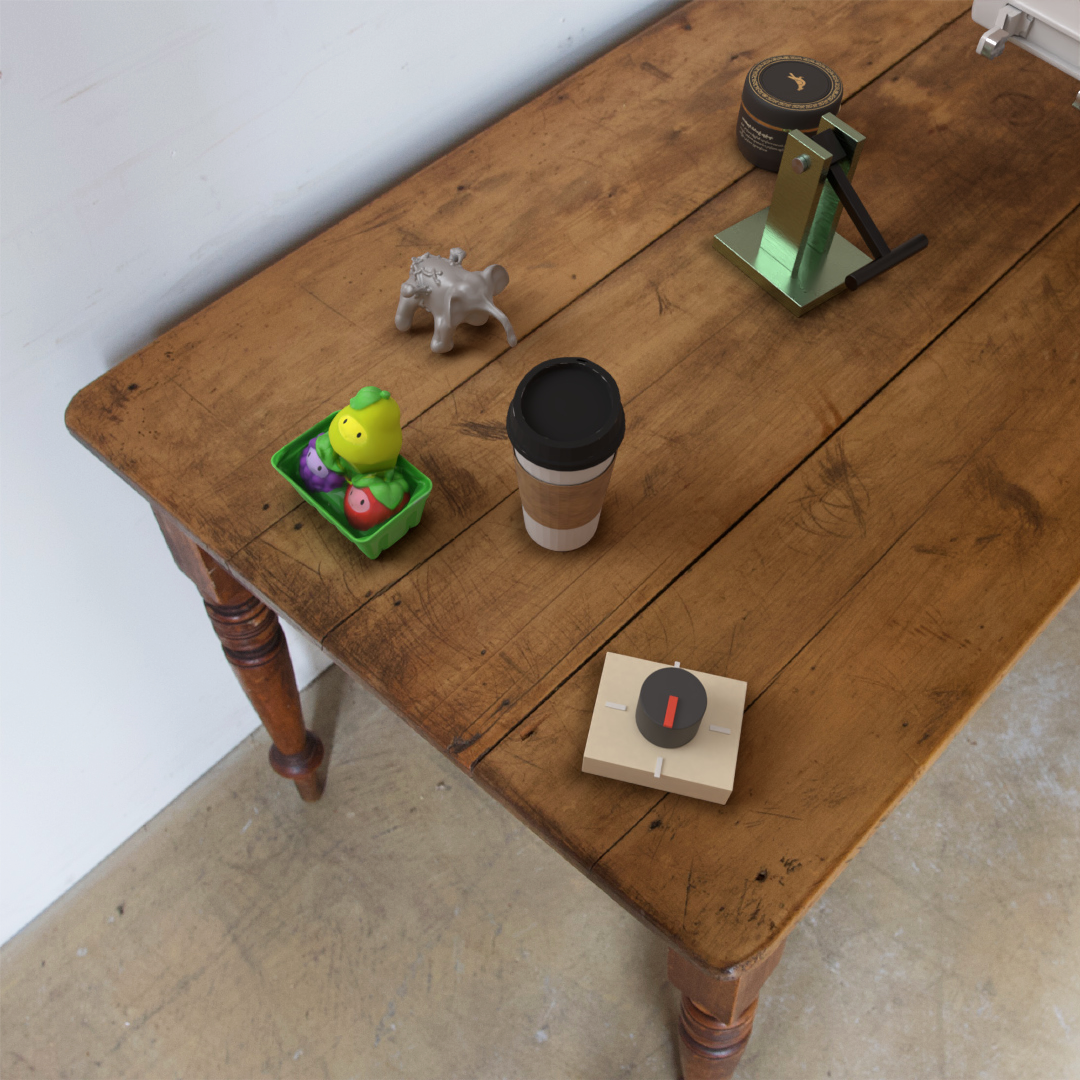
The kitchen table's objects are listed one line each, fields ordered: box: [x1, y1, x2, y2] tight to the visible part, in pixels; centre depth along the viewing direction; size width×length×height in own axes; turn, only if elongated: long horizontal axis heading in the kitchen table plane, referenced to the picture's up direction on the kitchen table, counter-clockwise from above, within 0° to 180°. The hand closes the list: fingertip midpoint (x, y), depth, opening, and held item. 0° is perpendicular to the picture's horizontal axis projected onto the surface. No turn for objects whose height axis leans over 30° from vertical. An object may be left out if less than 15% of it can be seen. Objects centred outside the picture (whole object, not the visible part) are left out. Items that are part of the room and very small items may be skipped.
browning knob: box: [635, 667, 707, 748], centre depth 66 cm, size 4×4×4 cm
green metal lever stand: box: [711, 112, 874, 318], centre depth 91 cm, size 12×10×14 cm
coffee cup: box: [505, 356, 627, 552], centre depth 74 cm, size 8×8×15 cm
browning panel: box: [581, 651, 748, 805], centre depth 69 cm, size 10×9×3 cm
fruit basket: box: [270, 385, 433, 561], centre depth 76 cm, size 11×9×11 cm
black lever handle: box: [811, 128, 930, 292], centre depth 87 cm, size 13×9×2 cm
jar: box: [735, 54, 844, 174], centre depth 103 cm, size 10×10×8 cm
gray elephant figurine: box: [394, 246, 518, 354], centre depth 88 cm, size 9×12×8 cm
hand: (1032, 75), depth 80 cm, fingers open, 8 cm apart
